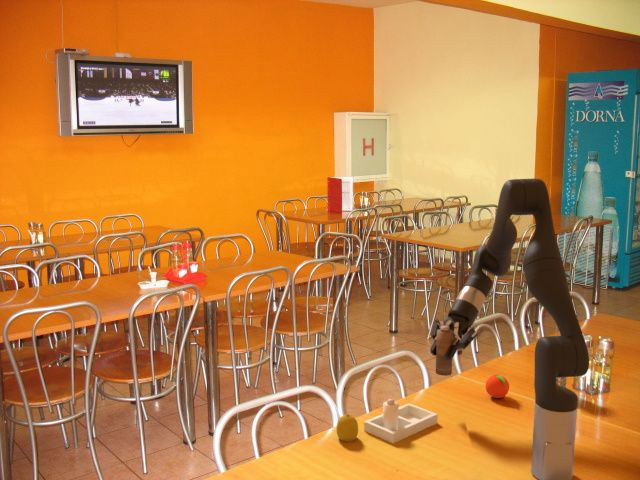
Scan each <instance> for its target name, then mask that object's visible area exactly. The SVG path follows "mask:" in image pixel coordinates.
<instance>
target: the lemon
mask: <svg viewBox="0 0 640 480" xmlns="http://www.w3.org/2000/svg"><path fill="white" fill-rule="evenodd" d="M358 433H359V425H358V421H357V419H356V418H355V416H353V415H351V414H349V413H346V414H344V415H342V416H340V417H339V419H338V421H337V423H336V435H337V437H338V439H339V440H341V441H342V442H345V443H346V442H349V443H350V442H353V441H354V440H356V439H357V438H358V437H357V436H358V435H359V434H358Z"/></svg>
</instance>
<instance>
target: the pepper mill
mask: <svg viewBox="0 0 640 480" xmlns="http://www.w3.org/2000/svg"><path fill="white" fill-rule="evenodd" d="M449 328H450V327H449V326H441V329H438V330H437V343H436V356H435V373H436V375H439V376H446V377H447V376H451V375H452V374H453V371H452V370H453V358H452V359H451V360H447V359H446V357H445V354H446V352H447V351H448V349H449V347H450V345H452V342H453V331H452V330H450V329H449Z"/></svg>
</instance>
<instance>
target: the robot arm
mask: <svg viewBox="0 0 640 480" xmlns="http://www.w3.org/2000/svg"><path fill="white" fill-rule="evenodd" d="M531 215H532V216H533V218H534V223H535V229H534V233H533V235H532V239H530V242H529V243H528V247H527V248H526V250H525V252H524V255H523V259H522V268H523V273H524V277H525V282H526V286H527V288H528V291H529V292H530V294H531V295H532V297H534V298H535V300H536V301H537V302H538V303H539V304H540V305H541V307H543V308H544V309H545V310H546V312H548V314H549V315H550V316H551V319H553V321H554V322H555V324H557V329H558V330H559V331H558V332H559V335H550V336H549V335H547V336H546V335H545V336H542V337H541V336H540V337H539V338H538V339H537V341H536V343H535V347H534V377H533V378H534V382H533V383H534V385H533V387H534V397H535V398H534V409H533V410H534V413H533V427H532V428H533V430H532V431H533V432H532V446H531V463H530V464H531V467H530V472H531V475H532V476H533V477H535V478H536V479H537V480H573V475H574V459H575V446H576V445H575V442H576V431H577V429H576V427H577V419H578V418H577V415H578V402H579V397H578V395H577V394H576V393H575V392H574V391H573V390H571V389H570V388H567V387H566V388H565V387H562V386H559V385H560V384H558V385H557V384H556V377H567V378H572V377H573V378H575V377H582V376H585V375H586V374H587V373H588V371H589V368H590V355H589V354H590V353H589V349H588V345H587V343H586V339H585V337H584V333H583V331H582V327H581V325H580V323H579V319H578V317H577V314H576V311H575V308H574V304H573V301H572V297H571V296H572V295H571V291H570V288H569V284H568V279H567V274H566V270H565V265H564V262H563V258H562V255H561V251H560V248H559V244H558V240H557V235H556V231H555V225H554V221H553V212H552V208H551V200H550V194H549V191H548V187H547V185H546V182H545V181H544V180H543V179H541V178H513V179H508V180H506V181H505V182H504V184H503V185H502V187H501V190H500V193H499V198H498V202H497V208H496V211H495V219H494V224H493V226H492V227H493V228H492V230H491V232H490V235H489V237H488V239H487V242H486V244H483V245H481V246H479V247H478V248H477V249H476V251H475V253H474V256H473V264H472V268H471V272H470V274H469V276H468V277H467V280H466V282H465V283H464V285H463V287H462V289H461V290H460V292H459V293H458V294H457V296H456V298H455V299H454V302H453V304H452V305H451V307H450V309H449V311H448V314H447V317H445V319H444V320H439V319H438V318H436V319H434V321H433V324H432V329H431V332H430V337H431V339H432V340H433V343H432V345H431V347H430V349H429V350H430V354H431V355H432V356H434V357H436V343H437V330H438V329H441V326H449V327H450V328H449V329H450V330H452V331H453V342H452V345H450V347H449V349H448V351H447V352H446V354H445V357H446V359H447V360H451V359H452V360H453V358H454V357H455V355H456V354H457V352H458V350H459V349H462V350H465V349H467V348H468V346H469V345H470V344H471V343H472V342H473V341H474V340H475V339H476V337H478V332H477V330H475V328H474V327H472V326H474V323H475V321H476V319H477V318H478V316H479V314H480V312H481V310H482V308H483V306H484V303H485V301H486V299H487V297H488V295H489V294H490V292H491V290H492V288H493V285H494V282H493V280H492V279H491V278H490V277H489V275H487V274H486V273H485V272H487V273H489V274H491V275H493V276H495V277H503V276H505V275H506V274H508V272H509V270H510V268H511V264H512V250H513V248H514V246H515V244H516V242H517V239H518V229H517V226H516V225H515V223H514V222H513V220H512V219H511V217H512V216H531Z"/></svg>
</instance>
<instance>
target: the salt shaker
mask: <svg viewBox="0 0 640 480" xmlns="http://www.w3.org/2000/svg"><path fill="white" fill-rule="evenodd" d="M399 405H400V404H399V402H398V401H395V400H394V399H393V398H388V399H387V400H386V401H384V402H383V403H382V414H383V428H386V429H388V430H390V431H395V430H397V429H398V410H399V407H400V406H399Z"/></svg>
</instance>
